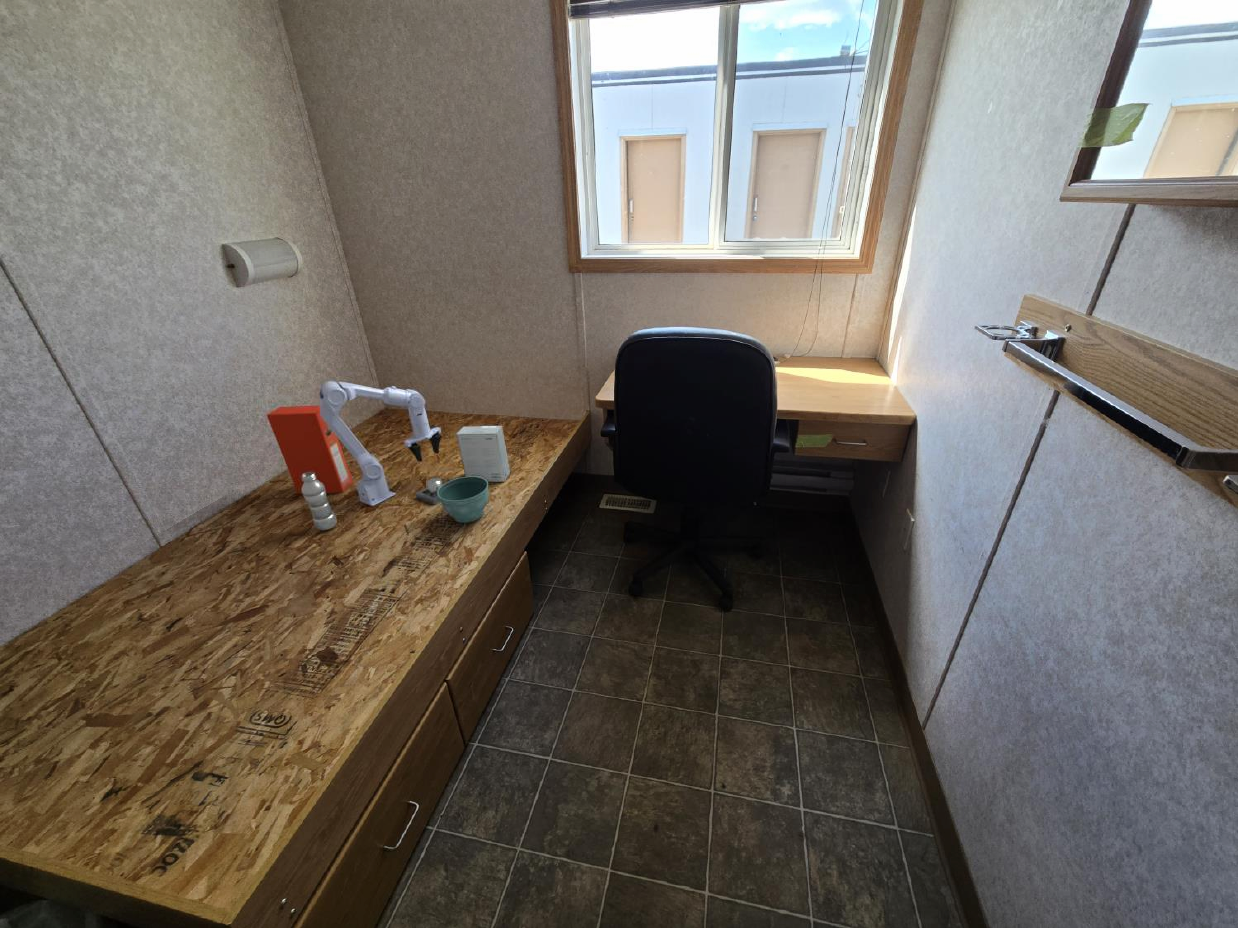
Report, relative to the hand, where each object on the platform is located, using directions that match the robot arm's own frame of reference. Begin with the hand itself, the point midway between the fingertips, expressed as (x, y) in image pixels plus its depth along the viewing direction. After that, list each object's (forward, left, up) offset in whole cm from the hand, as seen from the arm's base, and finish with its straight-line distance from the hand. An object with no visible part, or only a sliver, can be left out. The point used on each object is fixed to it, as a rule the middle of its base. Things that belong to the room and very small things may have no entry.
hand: (428, 456), depth 188 cm
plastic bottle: (-39, +5, -10) cm, 41 cm away
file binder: (-24, +32, -10) cm, 42 cm away
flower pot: (-11, -32, -10) cm, 35 cm away
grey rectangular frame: (-7, -11, -10) cm, 16 cm away
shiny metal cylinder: (-7, -11, -10) cm, 17 cm away
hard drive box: (+12, -18, -10) cm, 23 cm away
